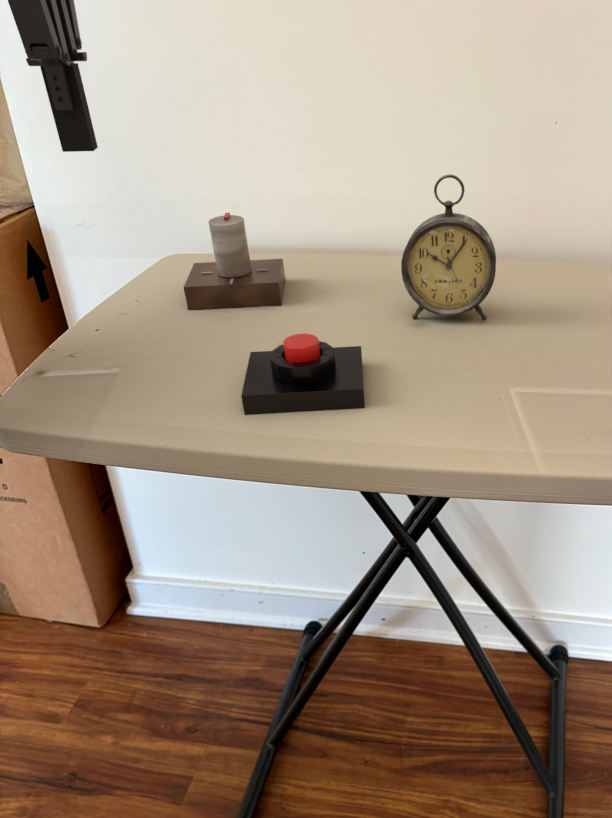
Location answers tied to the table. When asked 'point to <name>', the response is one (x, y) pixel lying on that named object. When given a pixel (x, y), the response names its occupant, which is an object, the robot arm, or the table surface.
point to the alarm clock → (449, 262)
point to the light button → (301, 348)
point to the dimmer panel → (235, 286)
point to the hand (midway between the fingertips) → (80, 149)
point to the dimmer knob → (230, 245)
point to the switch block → (304, 381)
